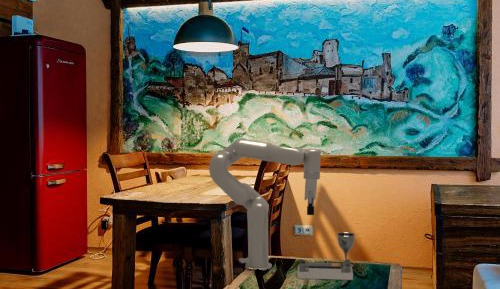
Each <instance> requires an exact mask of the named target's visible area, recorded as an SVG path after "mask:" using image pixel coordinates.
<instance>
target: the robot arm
mask: <svg viewBox="0 0 500 289" xmlns="http://www.w3.org/2000/svg"><path fill="white" fill-rule="evenodd" d="M242 158H246V159H253V160H259V161H264V162H269V163H276V164H277V163H278V164H282V165H287V166H288V165H290V166H299V165H301V164H303V179H304V180H305V181H304V182H305V183H304V184H305V185H304V201H306V200H307V206H306V215H307V216H314V215H315V200H316V197H317V191H318V190H317V189H318V180H320V179H321V150H320V149H316V148H307V149H306V148H302V147H300V148H299V147H293V148H290V147H284V146H278V145H275V144H272V143H270V142H265V141H258V140H252V139H247V138H243V137H241V138H237V139H235V140H234V141H233V142H232V143H231V144H229V145H228V146H227V147H225V148H223V149H222V150H221V151H219V152H217V153H215V154H214V155H212V157H211V159H210V162H209V166H208V171H209V172H208V173H209V175H210V178H211V180H212V181H213V182H214V183H215V184H216V186H218V187H219V188H220V189H221V190H222V191H223V192H224V194H226V195H227V196H228V197H229V198H230V199H231V200H232V201H233V202H234V203H235V204H236V205H239V206H243V207H244V208H245V209H246V210H247V212H246V216H247V217H246V218H247V243H248V244H247V245H248V246H247V247H248V250H247V251H248V254H247V255H248V256H247V257H246V258H244V257H239V258H238V262H239V263H240V264H245V265H244V268H245V269H247V270H249V269H248V268H249V267H250V268H253V269H259V270H262V271H267V269H268V270H271V269H272V268H273V265H272V263H271V262H269V210H270V207H269V202H268V201H266V199H265V198H264V197H263V196H261V194H259V192H258V191H256V190H255V189H254V188H253V187H252V186H251V185H249V184H248V183H245V182H241V181H240V180H238V179H237V177H236V176H235V175H233V173H231V172H229V170H228V168H229V167H230V166H233V165H234V164H235V163H236V162H238V161H240V160H241V159H242Z"/></svg>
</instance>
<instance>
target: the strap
mask: <svg viewBox="0 0 500 289" xmlns="http://www.w3.org/2000/svg"><path fill="white" fill-rule="evenodd" d="M343 263H344V262H342V263H340V262H305V263H302V264H305V268H332V269H343Z"/></svg>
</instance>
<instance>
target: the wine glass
mask: <svg viewBox="0 0 500 289" xmlns="http://www.w3.org/2000/svg"><path fill="white" fill-rule="evenodd" d="M336 235H337V244H338V246H339V249H341V250H342V252H343V254H344V260H345V259H348V253H349V252H350V250H351V249H352V248H353V247H354V243H355V233H353V232H347V231H346V232H343V231H342V232H338V233H336ZM342 263H343V267H345V264H344V262H342ZM350 267H352V268H353V267H354V264H352V263H350Z"/></svg>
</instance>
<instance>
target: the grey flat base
mask: <svg viewBox="0 0 500 289" xmlns="http://www.w3.org/2000/svg"><path fill="white" fill-rule="evenodd" d="M343 261H344V262H343V263H344V264H345V267H343V269H332V268H305V264H302V263H306V259H299V263H298V265H297V279H299V280H300V279H302V280H333V281H334V280H335V281H336V280H338V281H339V280H342V281H354V270H353V267H350V264H351V259H349V258H347V259H345V258H344V260H343Z"/></svg>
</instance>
